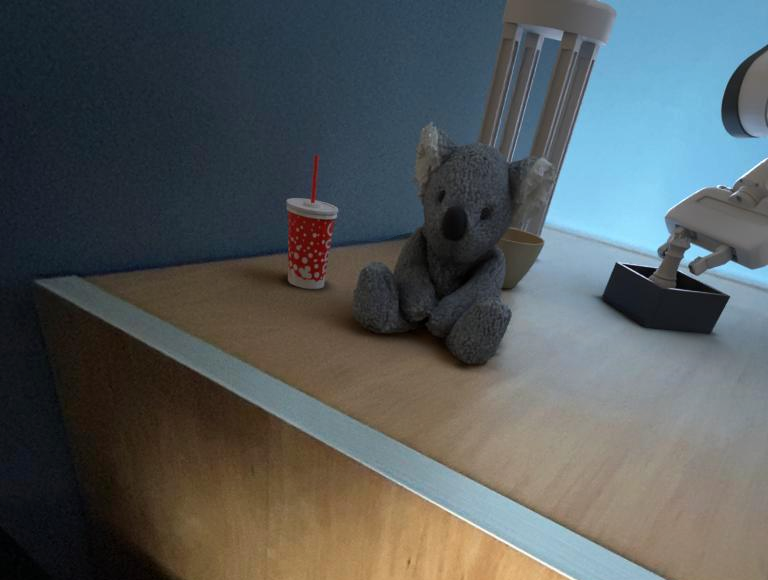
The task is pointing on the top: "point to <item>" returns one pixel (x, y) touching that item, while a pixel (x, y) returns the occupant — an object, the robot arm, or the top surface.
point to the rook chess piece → (671, 262)
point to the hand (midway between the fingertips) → (675, 262)
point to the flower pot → (518, 254)
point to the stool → (574, 29)
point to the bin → (664, 299)
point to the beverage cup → (309, 238)
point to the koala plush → (455, 247)
